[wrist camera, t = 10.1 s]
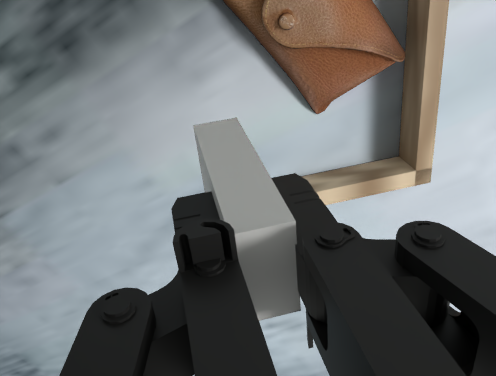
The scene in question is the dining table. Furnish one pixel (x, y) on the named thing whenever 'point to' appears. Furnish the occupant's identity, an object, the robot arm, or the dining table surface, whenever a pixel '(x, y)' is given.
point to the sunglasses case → (322, 42)
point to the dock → (402, 115)
